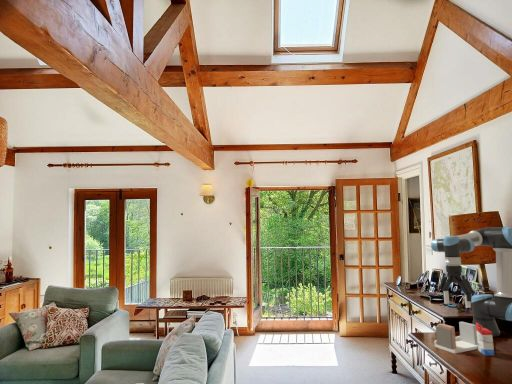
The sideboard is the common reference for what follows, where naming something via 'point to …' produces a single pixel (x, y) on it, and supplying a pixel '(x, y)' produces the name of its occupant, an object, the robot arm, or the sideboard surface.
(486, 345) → the ink box
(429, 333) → the sideboard surface
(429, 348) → the sideboard surface
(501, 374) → the sideboard surface
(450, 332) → the rack
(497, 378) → the sideboard surface
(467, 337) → the bookend
